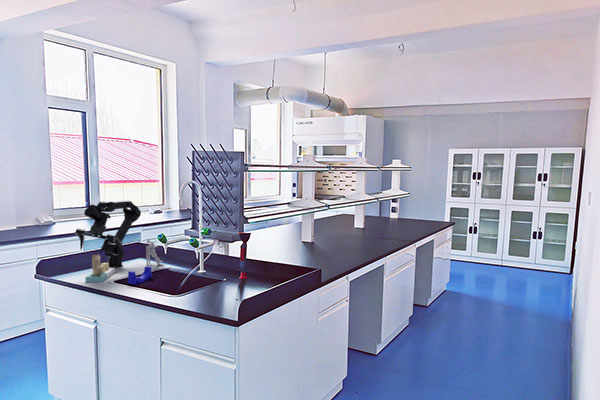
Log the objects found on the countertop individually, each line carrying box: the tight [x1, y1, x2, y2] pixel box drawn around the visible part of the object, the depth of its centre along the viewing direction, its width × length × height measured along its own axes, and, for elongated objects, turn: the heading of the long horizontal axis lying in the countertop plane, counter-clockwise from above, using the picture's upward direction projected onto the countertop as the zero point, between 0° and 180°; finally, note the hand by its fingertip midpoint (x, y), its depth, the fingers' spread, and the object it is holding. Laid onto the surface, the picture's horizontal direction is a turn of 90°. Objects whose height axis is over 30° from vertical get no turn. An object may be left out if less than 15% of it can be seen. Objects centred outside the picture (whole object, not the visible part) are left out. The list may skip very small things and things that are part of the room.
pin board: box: [84, 262, 116, 283], centre depth 204 cm, size 17×8×6 cm, turn 6°
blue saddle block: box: [127, 265, 152, 285], centre depth 199 cm, size 12×4×6 cm, turn 155°
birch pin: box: [91, 254, 101, 277], centre depth 199 cm, size 4×4×12 cm
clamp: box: [145, 238, 164, 267], centre depth 229 cm, size 4×10×15 cm, turn 89°
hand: (90, 251), depth 206 cm, fingers open, 9 cm apart
